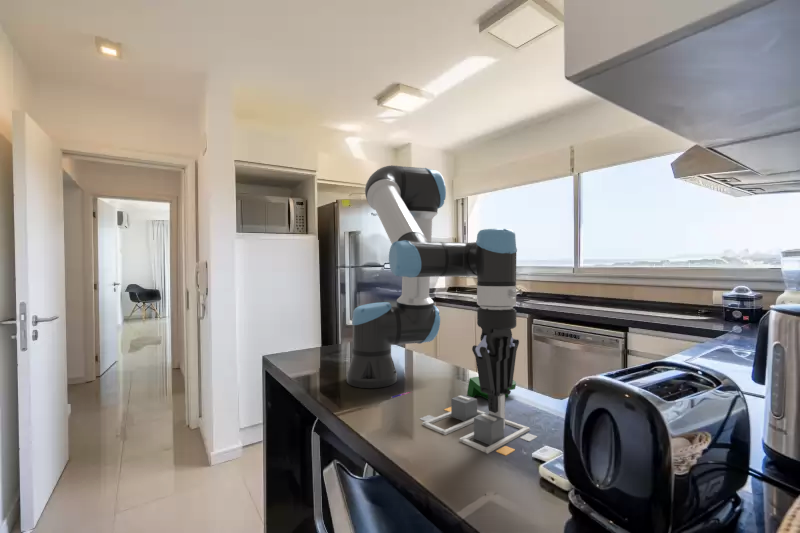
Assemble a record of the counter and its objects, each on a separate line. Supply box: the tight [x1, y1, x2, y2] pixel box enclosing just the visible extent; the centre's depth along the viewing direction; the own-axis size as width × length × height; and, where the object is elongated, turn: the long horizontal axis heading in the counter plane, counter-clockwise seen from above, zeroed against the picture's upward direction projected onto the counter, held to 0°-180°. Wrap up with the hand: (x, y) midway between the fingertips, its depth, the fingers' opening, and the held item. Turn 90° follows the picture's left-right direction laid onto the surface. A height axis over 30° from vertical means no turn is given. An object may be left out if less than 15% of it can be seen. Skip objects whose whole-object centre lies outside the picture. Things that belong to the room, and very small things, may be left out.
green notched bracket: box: [466, 376, 517, 400], centre depth 97 cm, size 12×6×9 cm, turn 111°
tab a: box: [450, 394, 478, 422], centre depth 83 cm, size 4×4×4 cm
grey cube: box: [473, 412, 505, 446], centre depth 72 cm, size 4×4×4 cm
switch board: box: [419, 406, 539, 457], centre depth 78 cm, size 24×18×2 cm
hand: (496, 426), depth 74 cm, fingers closed
